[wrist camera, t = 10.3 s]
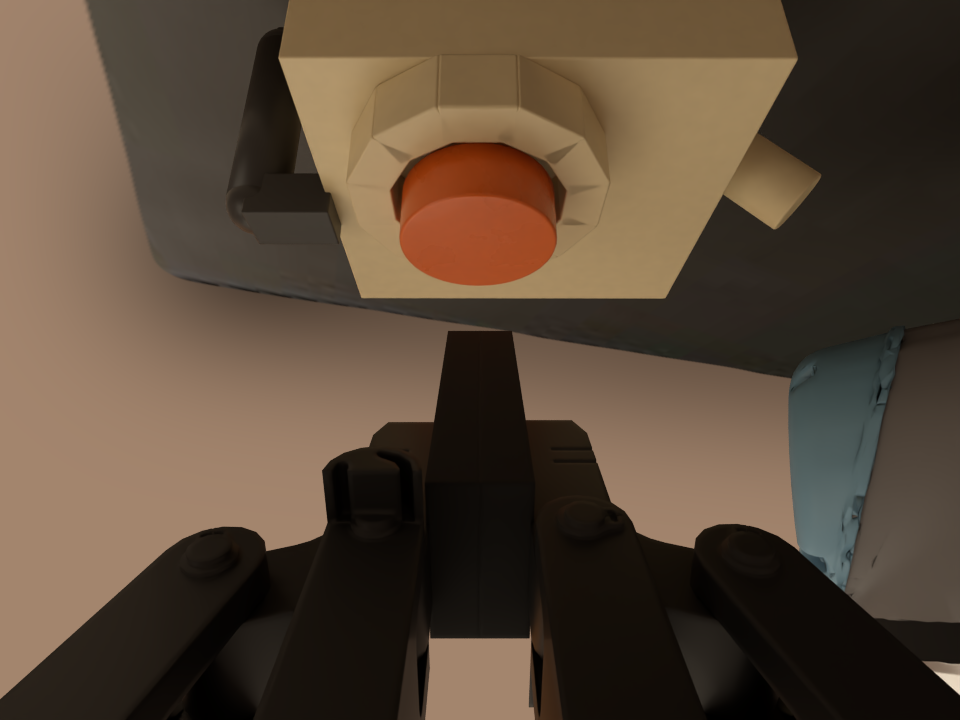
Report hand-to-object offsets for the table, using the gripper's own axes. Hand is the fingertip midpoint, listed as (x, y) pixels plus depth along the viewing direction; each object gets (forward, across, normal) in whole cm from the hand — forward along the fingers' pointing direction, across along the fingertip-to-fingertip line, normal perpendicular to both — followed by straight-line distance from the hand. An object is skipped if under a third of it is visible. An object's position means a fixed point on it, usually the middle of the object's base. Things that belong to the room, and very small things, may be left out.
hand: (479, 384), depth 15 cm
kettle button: (+5, 0, -4) cm, 6 cm away
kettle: (+15, -2, -10) cm, 18 cm away
